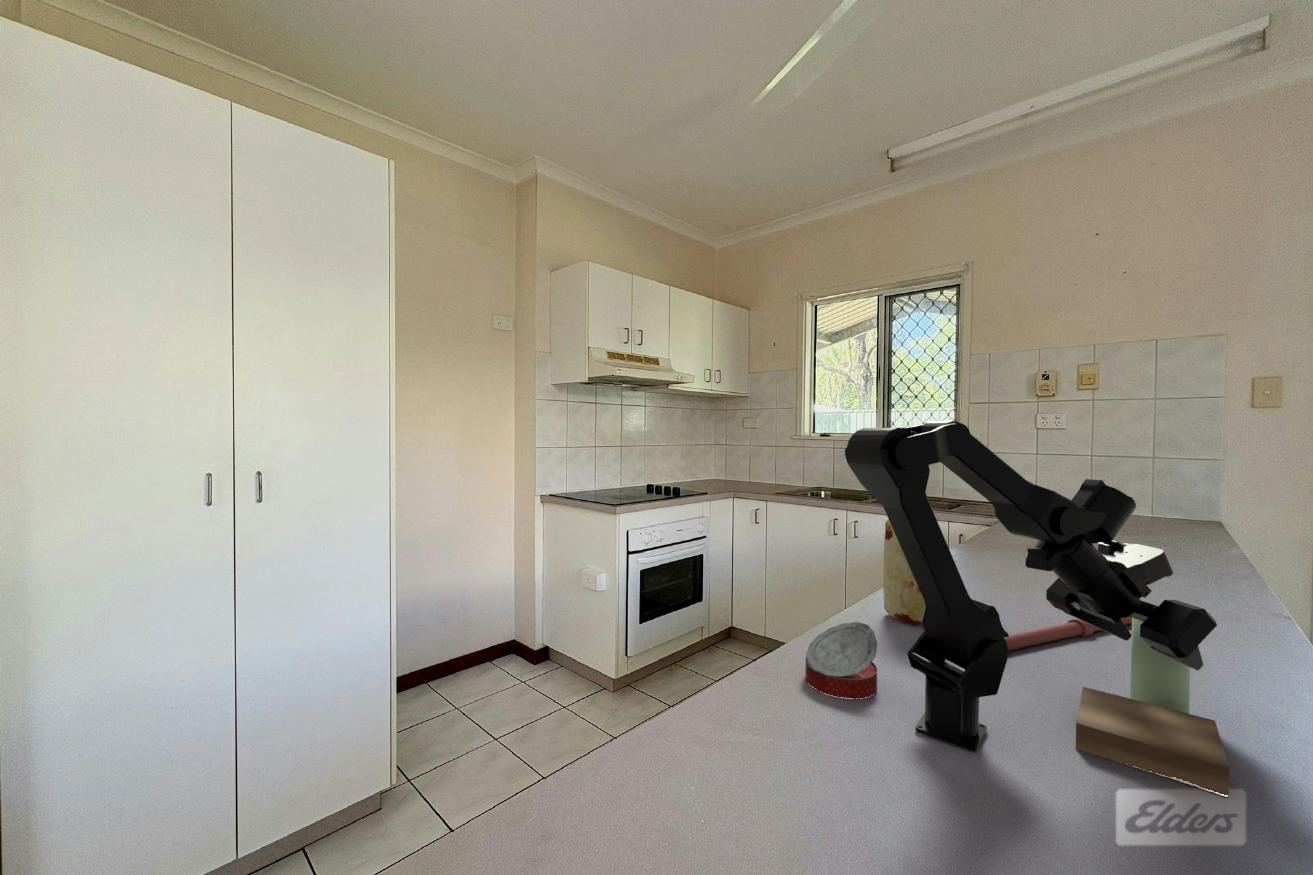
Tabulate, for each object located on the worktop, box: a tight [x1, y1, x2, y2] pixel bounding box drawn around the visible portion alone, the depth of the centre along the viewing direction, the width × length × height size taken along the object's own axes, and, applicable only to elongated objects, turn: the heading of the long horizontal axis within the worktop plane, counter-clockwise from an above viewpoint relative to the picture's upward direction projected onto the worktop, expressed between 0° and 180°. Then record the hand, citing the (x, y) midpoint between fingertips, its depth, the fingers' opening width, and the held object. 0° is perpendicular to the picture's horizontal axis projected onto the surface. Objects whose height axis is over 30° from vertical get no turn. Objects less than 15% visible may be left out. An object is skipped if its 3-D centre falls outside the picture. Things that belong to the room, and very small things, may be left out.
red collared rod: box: [1004, 616, 1132, 652], centre depth 94 cm, size 45×3×3 cm, turn 112°
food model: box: [882, 519, 925, 626], centre depth 102 cm, size 10×7×20 cm
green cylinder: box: [1129, 618, 1191, 714], centre depth 69 cm, size 6×6×13 cm
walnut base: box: [1075, 686, 1231, 797], centre depth 61 cm, size 12×12×3 cm
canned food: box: [804, 621, 878, 699], centre depth 76 cm, size 11×10×10 cm
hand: (1161, 651), depth 69 cm, fingers open, 9 cm apart
